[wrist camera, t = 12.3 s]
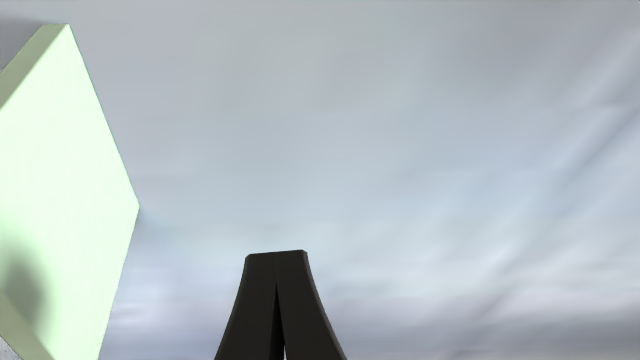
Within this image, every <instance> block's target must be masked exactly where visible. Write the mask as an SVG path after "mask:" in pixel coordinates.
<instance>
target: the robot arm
mask: <svg viewBox="0 0 640 360" xmlns="http://www.w3.org/2000/svg"><path fill="white" fill-rule="evenodd" d="M284 345H285V352H286V359H287V360H347V358H346V357H345V355H344V353H343V350H342V348H341V346H340V344H339V342H338V340H337V338H336V336H335V333H334V331H333V329H332V327H331V324H330V322H329V320H328V317H327V315H326V313H325V310H324V308H323V305H322V303H321V300H320V297H319V295H318V292H317V289H316V286H315V283H314V280H313V277H312V273H311V270H310V265H309V261H308V255H307V252H305V251H304V250H292V251H280V252H268V253H257V254H249V255H248V256H247V257H246V258H245V264H244V269H243V274H242V278H241V282H240V286H239V290H238V293H237V296H236V300H235V303H234V306H233V309H232V313H231V315H230V318H229V321H228V324H227V327H226V329H225V332H224V335H223V338H222V341H221V343H220V346H219V348H218V351H217V353H216V356H215V358H214V360H284Z"/></svg>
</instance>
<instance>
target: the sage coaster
mask: <svg viewBox="0 0 640 360" xmlns="http://www.w3.org/2000/svg"><path fill="white" fill-rule="evenodd" d="M139 207H140V206H139V204H138V201H137V199H136V196H135V194H134V191H133V188H132V186H131V183H130V181H129V178H128V176H127V173H126V170H125V168H124V165H123V163H122V160H121V158H120V155H119V152H118V150H117V147H116V145H115V142H114V140H113V137H112V135H111V132H110V129H109V127H108V124H107V122H106V119H105V117H104V114H103V111H102V109H101V106H100V104H99V101H98V99H97V96H96V93H95V91H94V88H93V86H92V83H91V81H90V78H89V76H88V73H87V70H86V68H85V65H84V63H83V60H82V58H81V55H80V52H79V50H78V47H77V45H76V42H75V40H74V37H73V34H72V32H71V29H70V27H69V25H68V24H51V25H41V26H40V27H39V28H38V29H37V30H36V32H35V33H34V34H33V35H32V36H31V37H30V39H29V40H28V41H27V42H26V43H25V44H24V45H23V47H22V48H21V49H20V50H19V51H18V52H17V53H16V55H15V56H14V57H13V58H12V59H11V60H10V62H9V63H8V64H7V65H6V66H5V67H4V68H3V70H2V71H1V72H0V336H1V337H2V338H3V339H4V341H5V342H6V343H7V344H8V345H9V346H10V347H11V348H12V349H13V350H14V351H15V353H16V354H17V355H18V356H19V357H20V358H21V359H22V360H97V359H98V355H99V351H100V348H101V344H102V340H103V337H104V333H105V330H106V326H107V322H108V319H109V315H110V312H111V308H112V304H113V301H114V297H115V294H116V290H117V286H118V283H119V279H120V275H121V272H122V268H123V265H124V261H125V257H126V254H127V250H128V247H129V243H130V239H131V236H132V232H133V229H134V225H135V221H136V218H137V214H138V210H139Z"/></svg>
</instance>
